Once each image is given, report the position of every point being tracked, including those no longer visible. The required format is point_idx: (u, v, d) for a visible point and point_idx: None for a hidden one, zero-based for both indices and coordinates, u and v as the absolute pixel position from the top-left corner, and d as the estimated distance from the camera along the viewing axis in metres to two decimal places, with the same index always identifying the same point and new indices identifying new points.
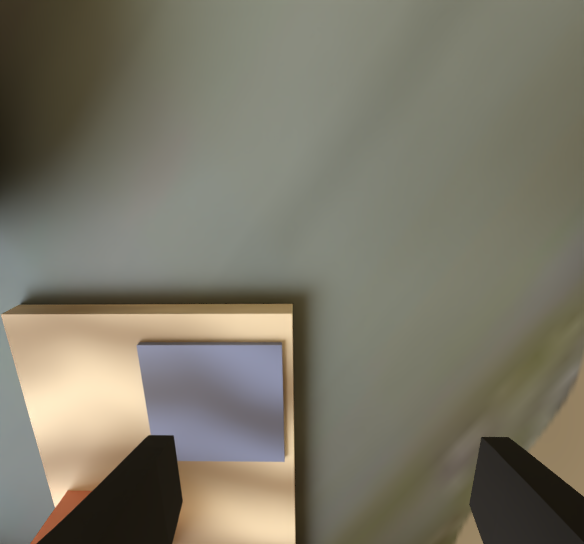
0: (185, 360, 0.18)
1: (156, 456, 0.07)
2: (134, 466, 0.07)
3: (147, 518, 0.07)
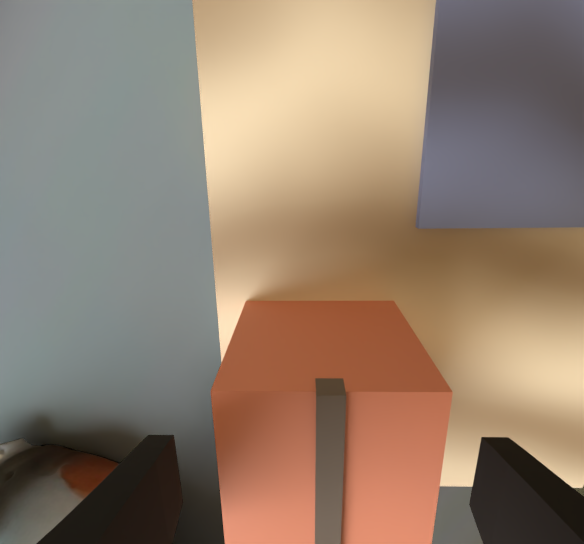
0: None
1: (156, 456, 0.07)
2: (134, 466, 0.07)
3: (147, 518, 0.07)
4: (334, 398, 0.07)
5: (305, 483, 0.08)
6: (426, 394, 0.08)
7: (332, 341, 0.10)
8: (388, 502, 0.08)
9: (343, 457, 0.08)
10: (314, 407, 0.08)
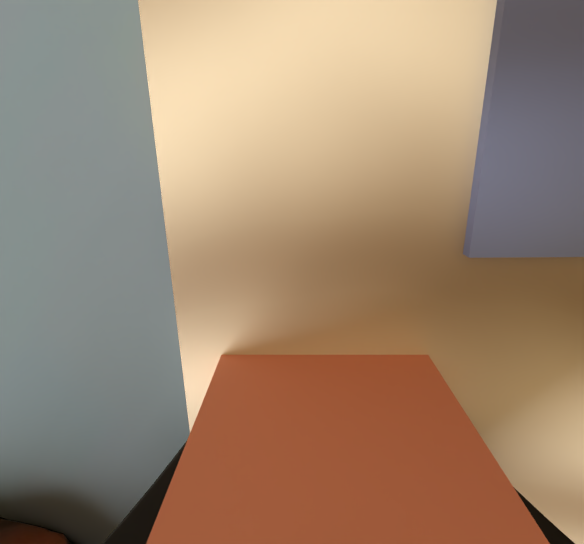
0: None
1: None
2: None
3: None
4: None
5: None
6: None
7: (347, 443, 0.06)
8: None
9: None
10: None
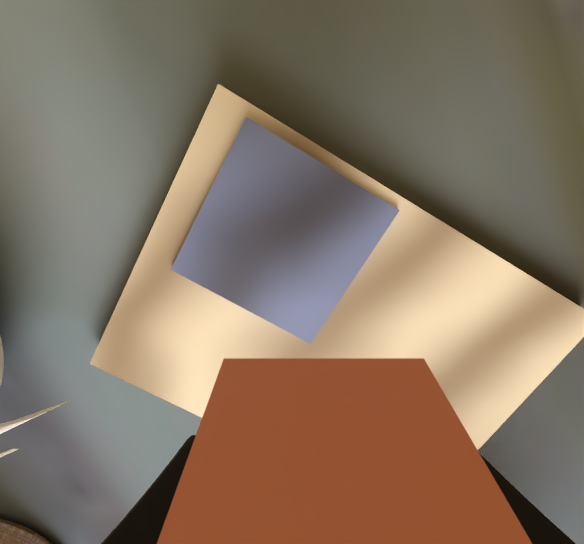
0: (211, 233, 0.15)
1: None
2: None
3: None
4: None
5: None
6: None
7: (344, 447, 0.06)
8: None
9: None
10: None
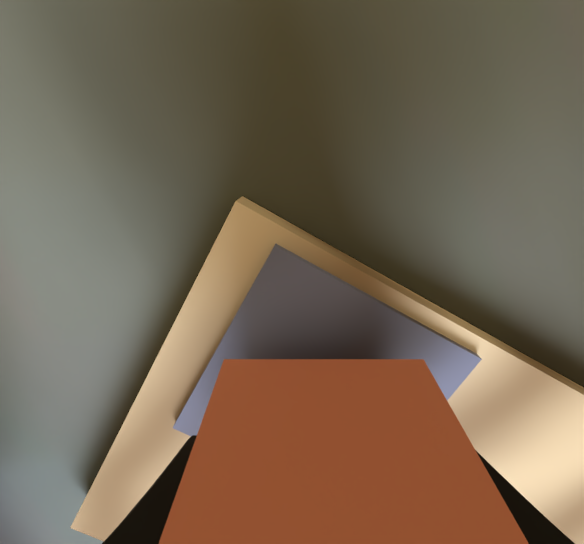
0: None
1: None
2: (185, 466, 0.07)
3: None
4: None
5: None
6: None
7: (344, 449, 0.06)
8: None
9: None
10: None
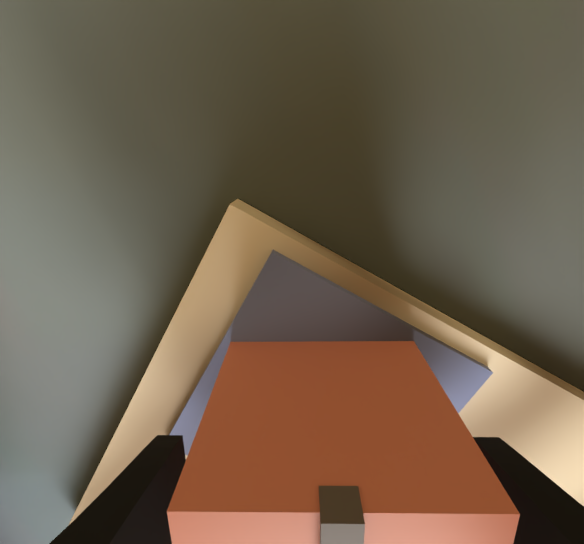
0: None
1: (166, 456, 0.07)
2: (144, 466, 0.07)
3: (157, 518, 0.07)
4: (347, 527, 0.05)
5: None
6: (480, 515, 0.05)
7: (340, 411, 0.07)
8: None
9: None
10: (317, 535, 0.05)
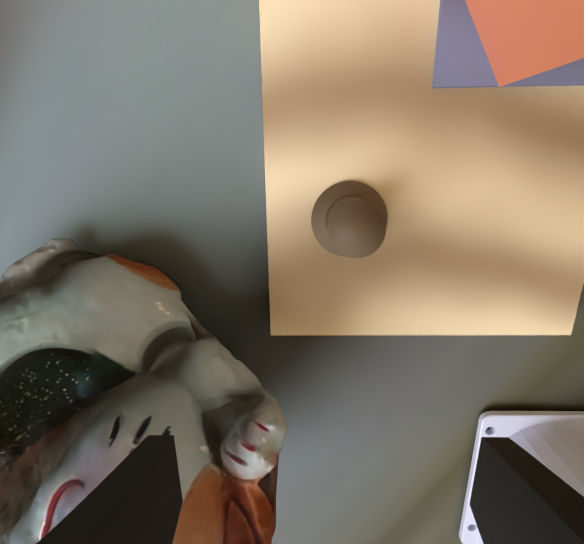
0: None
1: (156, 456, 0.07)
2: (134, 466, 0.07)
3: (147, 518, 0.07)
4: None
5: None
6: None
7: None
8: None
9: None
10: None
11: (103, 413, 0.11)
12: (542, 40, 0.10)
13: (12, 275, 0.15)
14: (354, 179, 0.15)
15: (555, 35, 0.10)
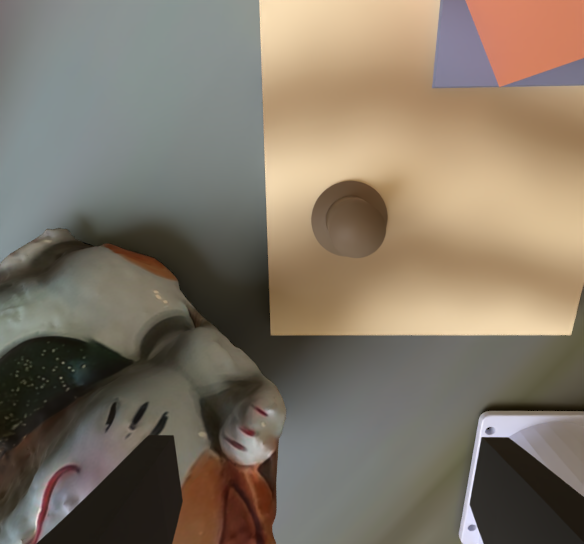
0: None
1: (156, 456, 0.07)
2: (134, 466, 0.07)
3: (147, 518, 0.07)
4: None
5: None
6: None
7: None
8: None
9: None
10: None
11: (99, 399, 0.11)
12: (542, 40, 0.10)
13: (8, 266, 0.15)
14: (354, 179, 0.15)
15: (555, 35, 0.10)
